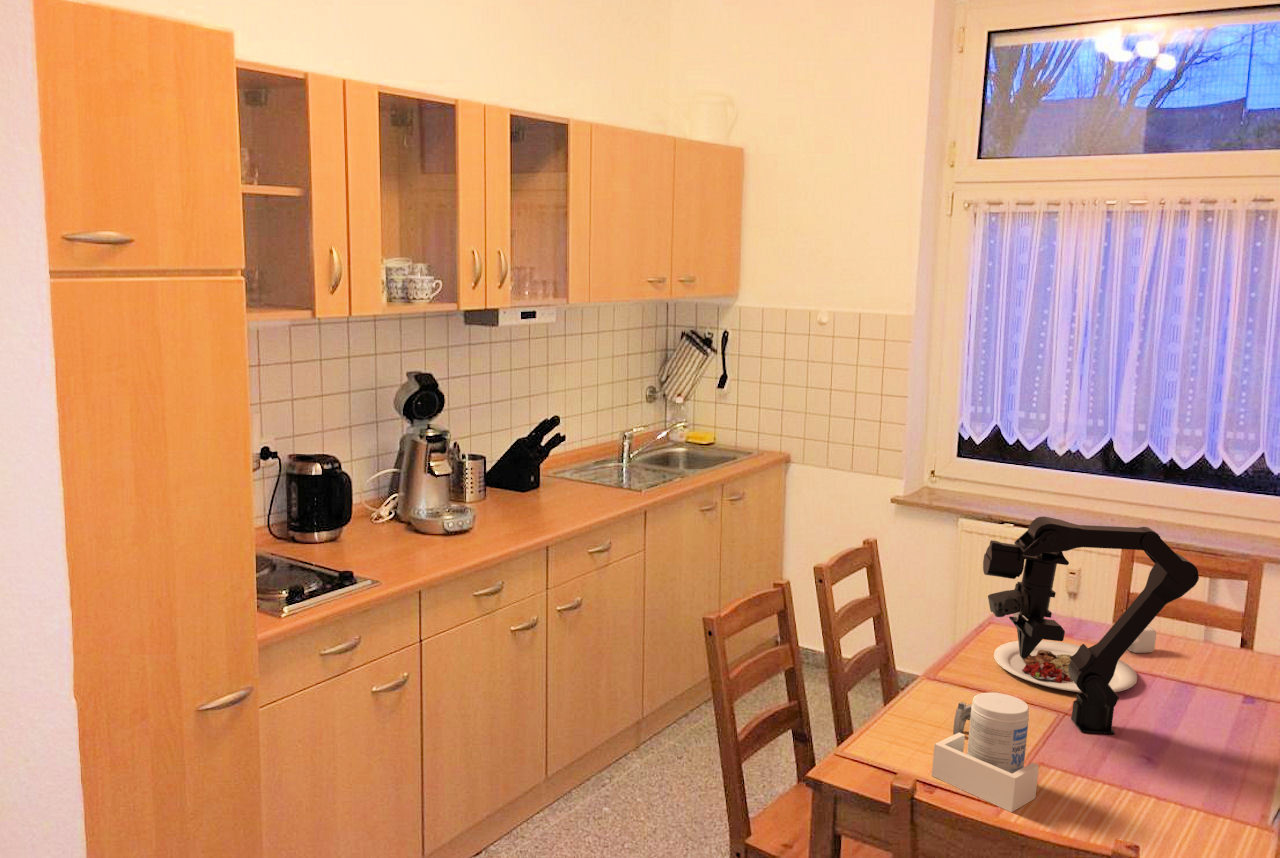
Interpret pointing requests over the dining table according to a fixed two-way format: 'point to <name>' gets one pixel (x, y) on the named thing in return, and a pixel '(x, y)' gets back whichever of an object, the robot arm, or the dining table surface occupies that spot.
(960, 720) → the caliper
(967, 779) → the cradle
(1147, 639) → the power adapter
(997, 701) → the supplement tub
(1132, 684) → the plated food
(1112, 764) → the dining table surface
